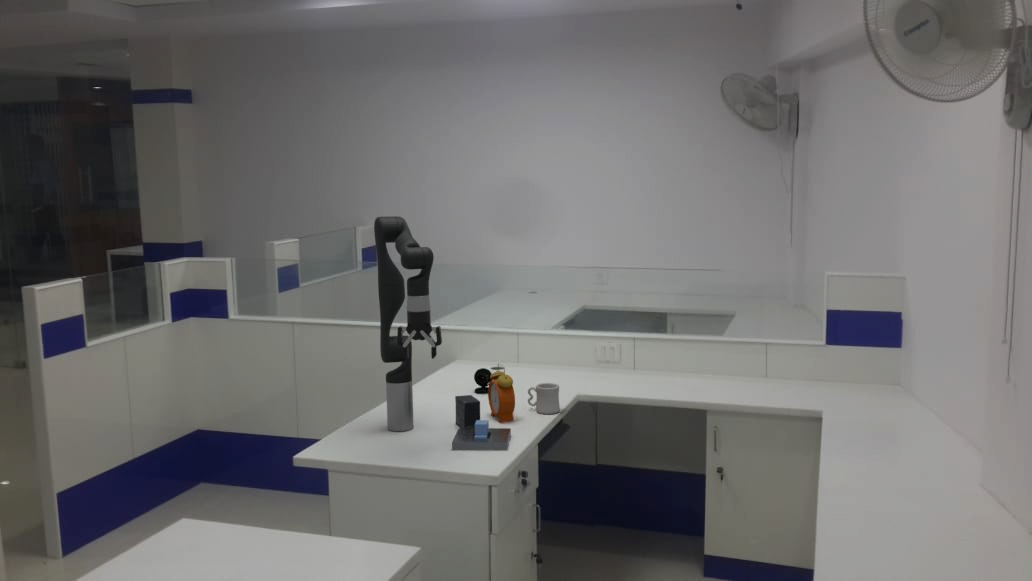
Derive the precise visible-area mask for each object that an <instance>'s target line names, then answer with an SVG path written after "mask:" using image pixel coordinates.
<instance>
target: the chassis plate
mask: <svg viewBox="0 0 1032 581" xmlns="http://www.w3.org/2000/svg"><path fill="white" fill-rule="evenodd" d="M511 432H512V429H511V428H509V427H508V428H506V427H505V428H504V427H502V428H499V427H498V428H495V427H494V428H493V427H491V428H489V438H487V439H474V436H475V428H460V427H459V428H458V429H457V431H456V433H455V435H454V437H453V439H452V442H451V450H452V451H456V450H457V451H508V447H509V444H510V441H509V440H511V437H512V433H511ZM510 436H511V437H510Z"/></svg>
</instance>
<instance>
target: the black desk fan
mask: <svg viewBox="0 0 1032 581" xmlns="http://www.w3.org/2000/svg"><path fill="white" fill-rule="evenodd" d="M492 373H493V372H492V371H491V370H490V369H487V368H485V367H484V368H483V367H482V368H479V369H477V370H475V372H474V375H473V380H474V381H475V383H476V384H477V386H479V387H476V388H475V389H474V393H476V394H478V395H488V388H489V384H490V382H491V381H492V380H491V379H490V376H491V374H492Z"/></svg>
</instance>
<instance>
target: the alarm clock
mask: <svg viewBox="0 0 1032 581" xmlns="http://www.w3.org/2000/svg"><path fill="white" fill-rule="evenodd" d="M500 366H502V367H503V371H501V370H500V368H499V367H500ZM499 370H500V371H499ZM505 370H506V369H505V366H504V365H502V364H500V363H498V364H497V370H495V371H494V372H491V373H492V374H491V376H490V379H491V380H492V381H491V382H489V383H490V384H489V383H488V384H489V385H488V387H489V388H488V394H487V398H488V404H489V408H490V411H491V412H490V417H491V418H496V417H497V422H498V423H500V424H501V423H509V422H514V421H515V419H514V414H513V413H514V411H515V407H516V395H515V389H514V387H513V385H514V380H513V377H512V376H510V375H509V374H506V372H505Z"/></svg>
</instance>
